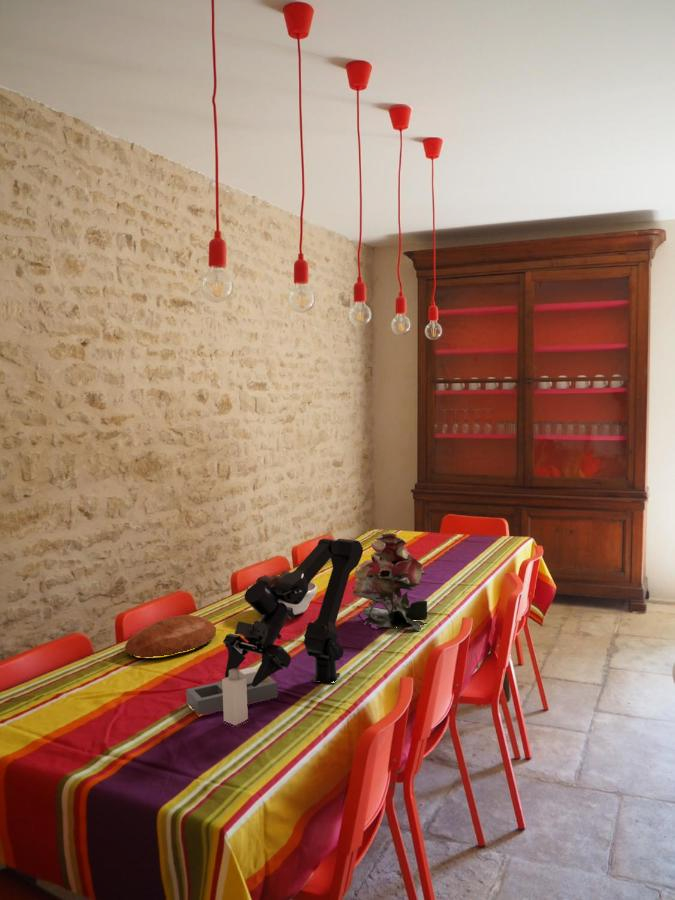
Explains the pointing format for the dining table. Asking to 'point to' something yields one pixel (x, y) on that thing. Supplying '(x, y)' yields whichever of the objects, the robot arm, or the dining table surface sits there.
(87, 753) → the dining table surface
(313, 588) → the white dessert bowl
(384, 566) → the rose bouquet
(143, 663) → the dining table surface
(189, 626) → the bread
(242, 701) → the plug
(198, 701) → the grey boxy piece
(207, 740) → the dining table surface
